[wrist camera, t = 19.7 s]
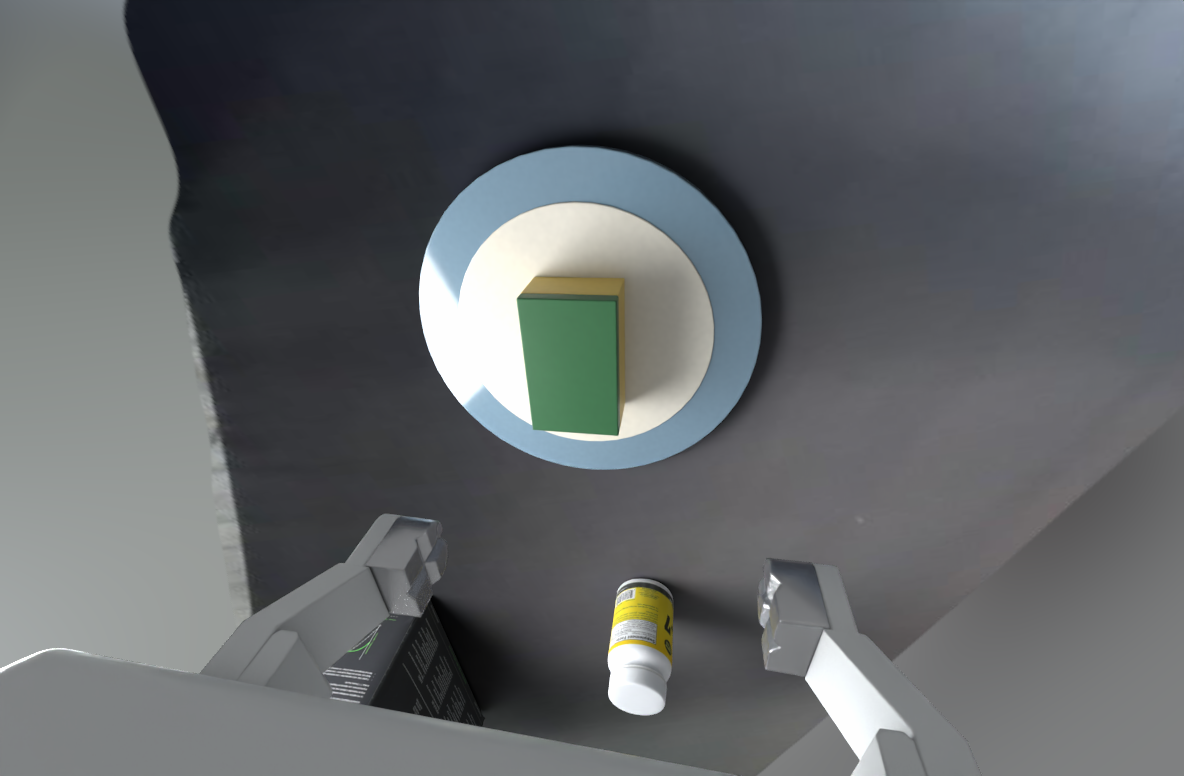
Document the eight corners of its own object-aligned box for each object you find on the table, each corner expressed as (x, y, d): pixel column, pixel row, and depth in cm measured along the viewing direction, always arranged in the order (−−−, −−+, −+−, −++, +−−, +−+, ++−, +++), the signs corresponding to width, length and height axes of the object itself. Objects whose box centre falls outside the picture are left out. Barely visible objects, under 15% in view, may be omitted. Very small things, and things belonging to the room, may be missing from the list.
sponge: (534, 276, 27) (515, 298, 24) (624, 277, 26) (616, 300, 23) (547, 399, 31) (532, 430, 28) (625, 403, 30) (618, 436, 27)
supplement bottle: (671, 616, 41) (668, 724, 34) (616, 608, 42) (602, 712, 35) (676, 580, 39) (673, 688, 32) (618, 572, 40) (602, 676, 33)
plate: (388, 150, 25) (378, 152, 25) (788, 137, 22) (792, 139, 21) (458, 450, 36) (452, 459, 35) (738, 472, 32) (739, 482, 32)
